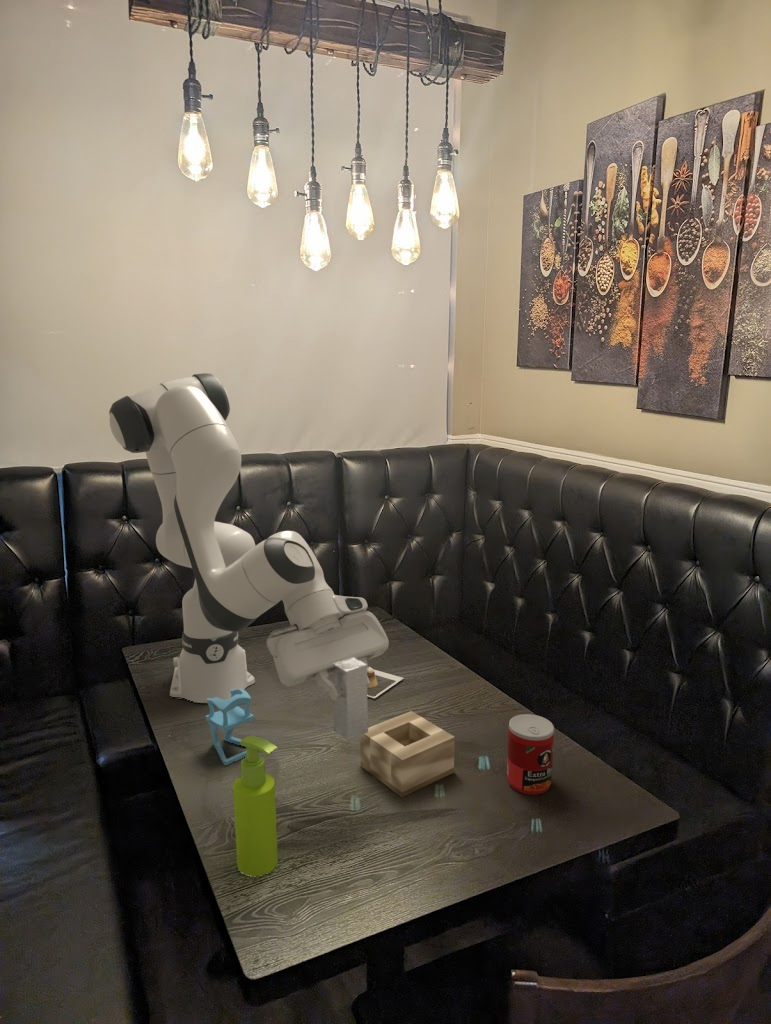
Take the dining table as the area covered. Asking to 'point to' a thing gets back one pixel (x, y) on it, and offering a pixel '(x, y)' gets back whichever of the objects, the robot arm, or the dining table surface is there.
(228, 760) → the chair
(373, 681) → the dessert
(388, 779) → the frame
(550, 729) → the canned food
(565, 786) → the dining table surface
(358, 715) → the grey square peg
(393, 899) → the dining table surface
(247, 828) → the soap dispenser
